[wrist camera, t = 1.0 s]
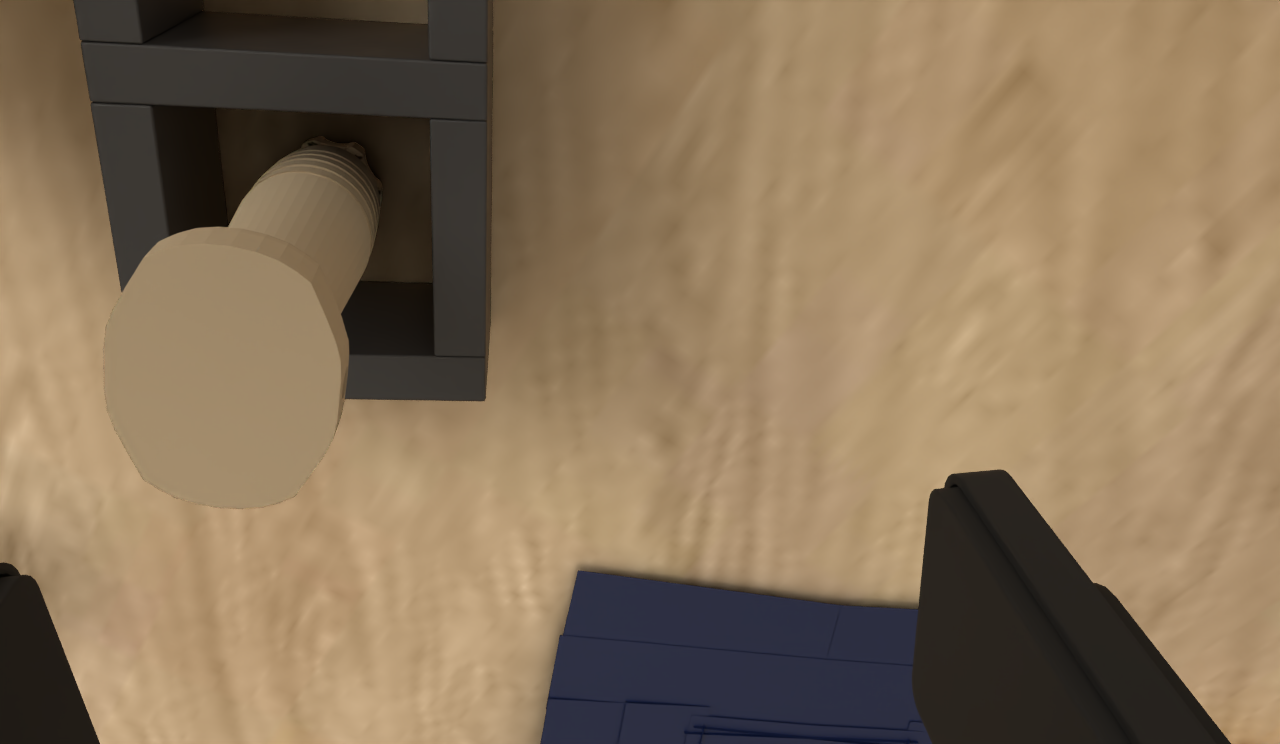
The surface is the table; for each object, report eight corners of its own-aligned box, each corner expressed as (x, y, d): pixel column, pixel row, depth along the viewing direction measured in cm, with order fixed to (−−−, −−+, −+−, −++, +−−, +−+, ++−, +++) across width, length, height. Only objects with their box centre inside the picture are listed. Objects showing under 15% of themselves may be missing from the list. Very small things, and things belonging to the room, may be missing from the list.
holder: (105, -337, 28) (10, -376, 23) (496, -299, 30) (490, -328, 24) (192, 317, 37) (137, 397, 32) (490, 324, 39) (485, 402, 33)
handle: (417, 99, 35) (352, 264, 21) (396, 276, 37) (327, 520, 24) (267, 71, 34) (101, 225, 20) (257, 255, 36) (105, 495, 23)
